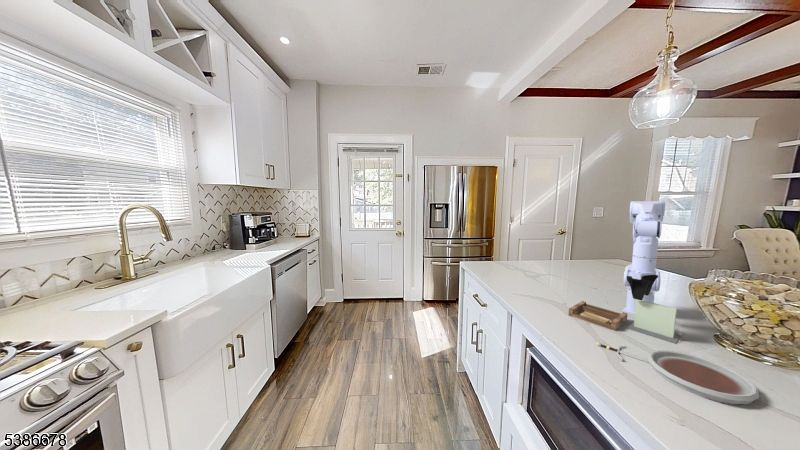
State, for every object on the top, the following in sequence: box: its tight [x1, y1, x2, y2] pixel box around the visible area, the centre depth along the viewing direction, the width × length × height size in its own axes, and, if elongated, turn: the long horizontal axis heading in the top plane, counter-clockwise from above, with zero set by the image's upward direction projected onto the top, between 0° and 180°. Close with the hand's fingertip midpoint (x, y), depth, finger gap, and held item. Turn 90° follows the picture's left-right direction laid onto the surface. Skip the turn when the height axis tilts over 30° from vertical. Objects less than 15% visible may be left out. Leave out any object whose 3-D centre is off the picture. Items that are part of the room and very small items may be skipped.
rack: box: [568, 300, 628, 332], centre depth 90 cm, size 12×14×3 cm
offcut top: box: [579, 312, 611, 325], centre depth 89 cm, size 4×8×1 cm, turn 30°
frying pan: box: [595, 341, 760, 406], centre depth 64 cm, size 17×3×28 cm
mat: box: [626, 321, 682, 345], centre depth 81 cm, size 8×11×1 cm
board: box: [633, 300, 678, 338], centre depth 80 cm, size 2×9×9 cm, turn 34°
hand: (640, 296), depth 84 cm, fingers open, 7 cm apart
